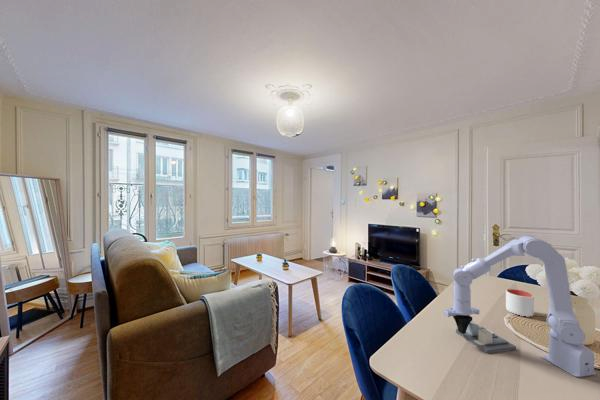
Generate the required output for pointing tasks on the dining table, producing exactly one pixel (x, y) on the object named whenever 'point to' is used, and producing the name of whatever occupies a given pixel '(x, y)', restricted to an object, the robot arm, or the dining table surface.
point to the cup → (520, 302)
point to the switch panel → (496, 345)
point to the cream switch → (485, 336)
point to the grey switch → (472, 328)
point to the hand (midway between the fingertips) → (461, 332)
